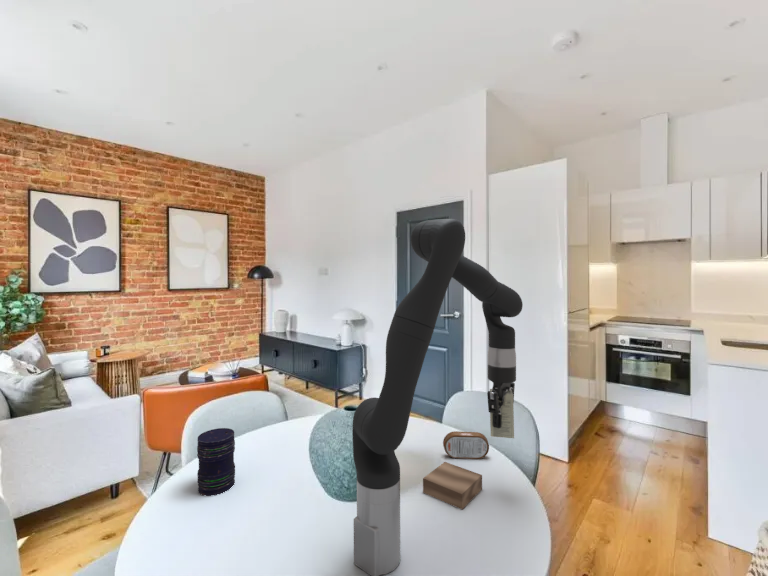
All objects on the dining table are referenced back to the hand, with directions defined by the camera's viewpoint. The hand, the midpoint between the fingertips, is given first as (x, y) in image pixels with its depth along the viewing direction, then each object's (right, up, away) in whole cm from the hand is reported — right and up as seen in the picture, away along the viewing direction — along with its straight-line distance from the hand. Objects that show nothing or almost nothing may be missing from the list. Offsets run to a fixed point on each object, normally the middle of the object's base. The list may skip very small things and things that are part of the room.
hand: (501, 423), depth 99 cm
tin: (-5, -19, +20) cm, 29 cm away
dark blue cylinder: (-81, -20, +4) cm, 84 cm away
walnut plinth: (-13, -19, +1) cm, 24 cm away
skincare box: (0, -3, 0) cm, 3 cm away
